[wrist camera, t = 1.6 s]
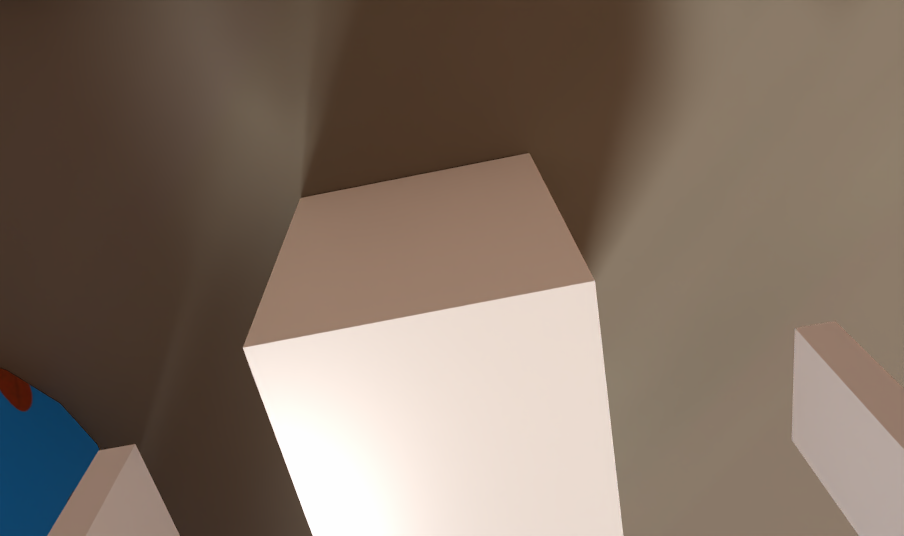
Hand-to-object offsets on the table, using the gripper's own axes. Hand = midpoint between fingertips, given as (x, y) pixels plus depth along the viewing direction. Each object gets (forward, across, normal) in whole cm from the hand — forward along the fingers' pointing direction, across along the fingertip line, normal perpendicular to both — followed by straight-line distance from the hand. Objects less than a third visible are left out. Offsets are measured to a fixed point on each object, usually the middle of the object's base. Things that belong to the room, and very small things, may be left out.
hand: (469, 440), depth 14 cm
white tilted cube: (+7, 0, 0) cm, 7 cm away
